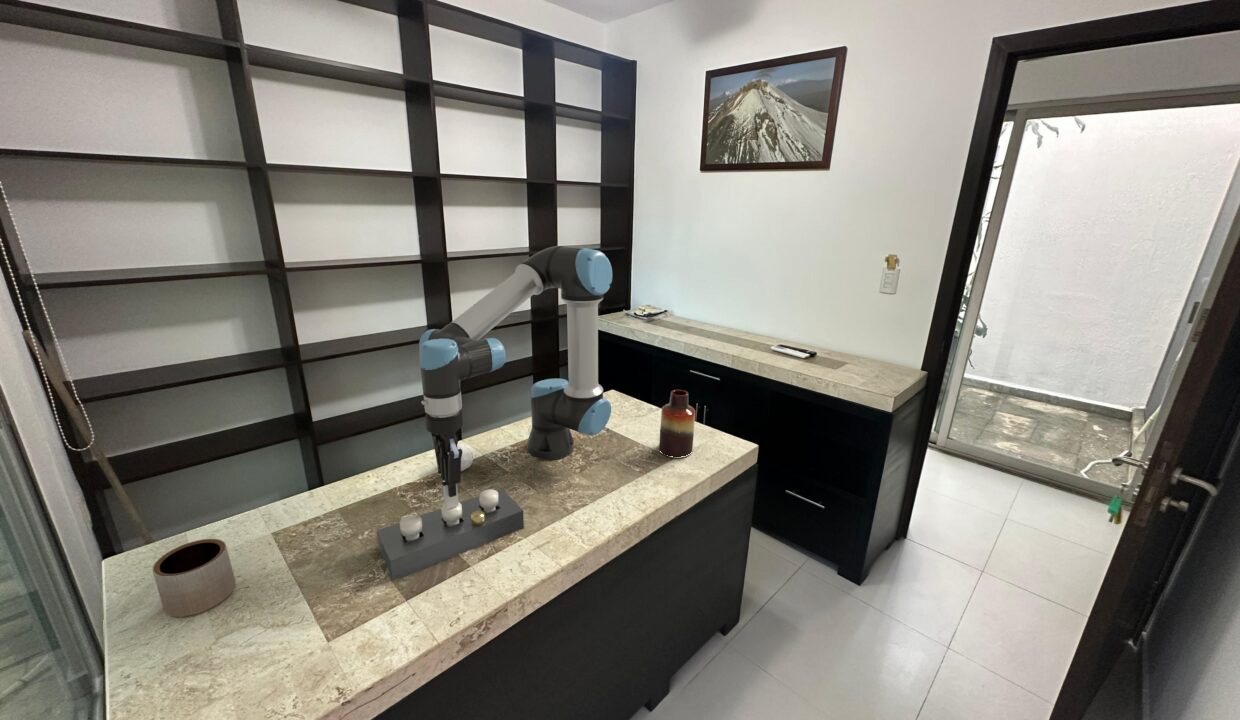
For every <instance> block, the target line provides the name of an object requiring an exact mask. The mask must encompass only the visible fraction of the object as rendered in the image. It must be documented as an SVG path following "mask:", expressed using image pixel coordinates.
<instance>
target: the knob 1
mask: <svg viewBox="0 0 1240 720" xmlns="http://www.w3.org/2000/svg"><path fill="white" fill-rule="evenodd" d="M420 516H421V515H418V514H411V515H407V516H404V517H403V518H401V520H399V523H400V529H401V534H402V535H403V536H405V537H406V542H409V541H412V540H414V539H417V538H420V537H419V533H420V532H421V531H422V519H421V517H420Z"/></svg>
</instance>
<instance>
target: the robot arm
mask: <svg viewBox="0 0 1240 720" xmlns="http://www.w3.org/2000/svg"><path fill="white" fill-rule="evenodd" d="M514 270H515V271H514V273H513V274H512V275H511V276H510V275H509V277H508V278H506V279H505V280H504V281H502V282H501V283H500V284H499V285H497V286H496V287H495V288H494V289H492V290H490V292H488V293H487V294H486V295H484V296H483V297H482V298H480V299H479V300H478V301H477V302H476V303H474V304H473V305H472V306H470V307H469V308H468V309H466V310H465V311H464V312H463V313H461V314H460V315H459V316H457V317H456V318H454V320H452V321H451V322H449V324H447V325H445V326H444V327H443V328H441V329H439V328H437V329H436V328H433V329H428V330H426V331H425V332H424V333H423V334H421V337H420V340H419V343H418V345H419V346H418V347H419V352H418V353H419V354H418V355H419V368H420V376H421V385H422V394H423V400H422V401H421V405H423V406H424V412H425V415H424V419H425V426H426V431H428V432H429V433H430V435H431V438H432V441H433V448H434V452H435V460H436V465H437V473H438V474H439V475H440V478H441V480H442V482H441V485H442V489H443V490H442V492H443V501H444V503H443V505H444V504H445V507H446V509H450V508H453V507H456V506H458V505H459V504H458V502H459V493H458V484H460V483H461V479H462V478H461V476H462V474H461V473H462V471H461V457H462V449H458V450H457V444H459V438H458V437H459V436H457V434H456V433H457V432H458V431H459V430H460V429H462V427H463V425H464V423H463V422H464V421H463V410H462V408H463V402H462V390H461V381H464V380H467V379H470V378H473V377H476V376H477V377H478V376H480V375H484V374H489V373H492V372H493V371H496V370H499V369H501V368H502V367H503V366H504V365H505V363H506V357H507V356H506V349H505V347H504V345H503V343H502V342H501V341H500V340H498V339H497V338H495V337H488V338H486V337H485V338H483V339H481V338H482V337H484V336H485V335H487V334H488V333H489V332H490V331H491V330H492V329H494V328H495V327H496V326H497V325H499V323H501V322H502V321H503V320H504V319H505V318H507V316H509V315H511V314H512V313H513V312H514V311H515V310H517V309H518V308H519V307H520V306H522V304H524V303H525V302H526V301H527V300H528V299H529V298H531V297H533V295H535V296H538V295H540V294H541V293H543V292H544V291H546V290H549V289H560V297H561V298H560V299H561V301H563V302H564V303H565V305H566V314H567V315H566V317H567V319H566V320H567V321H566V323H567V324H566V326H567V359H568V360H567V363H568V364H567V366H568V370H567V371H568V380H567V379H564V378H546V379H544V380H539V381H536V382H535V383H534V384H533V385H532V386H531V389H530V391H531V394H530V404H531V405H530V409H531V411H530V412H531V430H530V433H529V436H528V439H527V442H526V452H527V453H528V454H529V456H531V457H533V458H535V459H538V460H550V461H551V460H561V459H563V458H566V457H568V456H570V455H571V454H572V453H573V452H574V450H575V441H574V438H573V435H572V432H571V430H572V431H575V432H577V433H579V434H581V435H586V436H590V437H591V436H592V437H593V436H596V435H598V434H600V433H601V432H602V431H603V430H604V429H605V428H606V426H607V424H608V423H609V421H610V418H611V415H612V414H611V413H612V404H611V402H610V401H609V400H608V399H607V398H604V388H603V386H602V385H601V384H599V304H600V302H602V301H603V300H604V295H605V294H606V293H607V292H608V291H609V289H610V288H611V284H612V282H613V268H612V265H611V262H610V260H609V258H608V257H607V256H606V254H605V253H604V252H602V251H600V250H597V249H591V248H588V247H573V246H572V247H571V246H563V245H561V246H560V245H555V246H550V247H547V248H544V249H543V250H540V251H538V252H536V253H535V254H533V255H531V256H530V257H528V258H527V259H525V260H524V261H523V262H521V263H520V264H518V265H517V266H516V268H515V269H514Z"/></svg>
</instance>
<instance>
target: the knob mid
mask: <svg viewBox="0 0 1240 720" xmlns="http://www.w3.org/2000/svg"><path fill="white" fill-rule="evenodd" d="M458 504H459V505H458V506H456V507H453V508H450V509H446V507H445V504H444V503H443V504H442V507H441V508H440V509H442V519H443V520H444V521H446V523H447V527H450V526H453V525H456V524H459V519H460V518H461V517H462V505H461V503H459V501H458Z"/></svg>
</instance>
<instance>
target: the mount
mask: <svg viewBox="0 0 1240 720" xmlns="http://www.w3.org/2000/svg"><path fill="white" fill-rule="evenodd" d="M496 491H497V492H498V500H499V503H498V505H497V506H495V508H496V510H494V511H492V512H489V513H486V514H485V513H484V515H485V522H484V524H482V525H480V526H474V525H472V523H471V514H472V513H473V512H475V511H483V512H484V508H482V507H481V506H480V499H479V495H478V496H474V497H472V498H471V497H470V498H469V499H465V500H463V501H460V502H459V501H458V502H459V503H461V505H462V517H461V518H460V519H459V524H456V525H453V526H450V527H447V523H446V521H444V520H443V519H442V509H441V508H439V509H436V510H433V511H429V512H426V513H424V514H421V515H419V516H420V517H421V519H422V531H421V532H420V533H419V537H420V538H417V539H414V540H412V541H409V542H406V537H405V536H403V535H402V534H401V529H400V522H397V523H395V524H392V525H389V526H386V527H382V528H380V529H377V530H376V538H377V544H378V545H377V546H378V550H379V553H380V555H381V557H382V560H383V562H384V564H385V566H386V569H387V571H388V573H389V575H390V577H391V580H392V581H396V580H399V579H401V578H403V577H406V576H408V575H411V574H413V573H416V572H418V571H421V570H423V569H425V568H428V567H431V566H433V565H436V564H438V563H440V562H443V561H445V560H448V559H451V558H453V557H455V556H458V555H460V554H463V553H467V552H468V551H470V550H473V549H475V548H478V547H480V546H483V545H485V544H487V543H488V544H489V543H491V542H493V541H495V540H498V539H501V538H503V537H506V536H509V535H510V534H513V533H516V532H517V531H520V530H523V529H524V528H525V526H524V525H525V523H524V522H525V520H524V516H525V515H524V510H523V509H522V508H521V506H519V504H518V503H517V502H516V501H515V500H514V499H513V498H512V497H511V495H509V494H508V493H507V492H506V491H505V490H504V488H499V489H496Z"/></svg>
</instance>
